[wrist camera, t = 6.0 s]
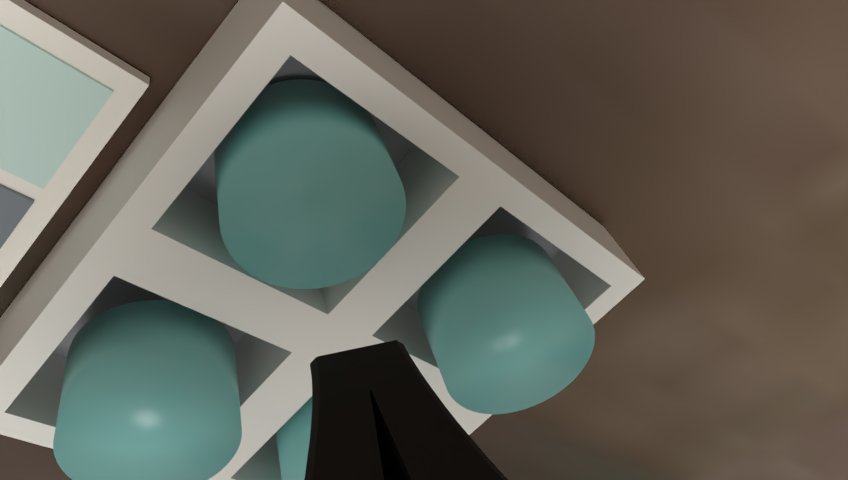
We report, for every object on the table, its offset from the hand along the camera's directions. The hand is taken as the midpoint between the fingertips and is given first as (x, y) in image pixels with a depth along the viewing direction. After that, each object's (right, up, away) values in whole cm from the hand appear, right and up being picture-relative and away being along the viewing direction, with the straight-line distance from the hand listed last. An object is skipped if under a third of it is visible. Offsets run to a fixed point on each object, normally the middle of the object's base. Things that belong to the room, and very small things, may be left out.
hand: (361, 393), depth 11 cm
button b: (-6, -1, +6) cm, 8 cm away
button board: (-2, +1, +9) cm, 9 cm away
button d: (-2, +4, +5) cm, 7 cm away
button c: (+3, +1, +8) cm, 8 cm away
